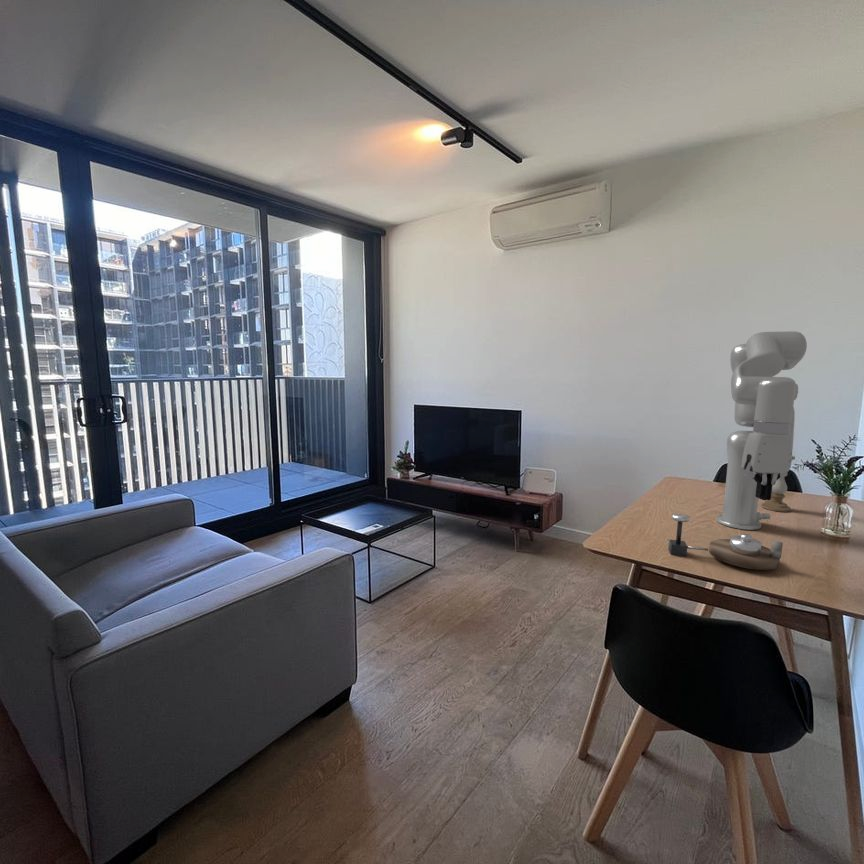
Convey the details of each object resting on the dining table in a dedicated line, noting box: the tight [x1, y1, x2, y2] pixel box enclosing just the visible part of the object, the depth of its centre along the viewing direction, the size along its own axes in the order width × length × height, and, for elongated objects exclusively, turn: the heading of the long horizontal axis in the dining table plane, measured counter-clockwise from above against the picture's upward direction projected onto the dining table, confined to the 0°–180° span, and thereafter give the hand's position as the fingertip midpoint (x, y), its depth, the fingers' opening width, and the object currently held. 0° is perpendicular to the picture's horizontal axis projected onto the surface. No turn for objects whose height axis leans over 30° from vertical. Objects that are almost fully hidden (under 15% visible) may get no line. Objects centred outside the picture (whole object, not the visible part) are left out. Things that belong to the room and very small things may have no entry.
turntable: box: [708, 538, 784, 571], centre depth 127 cm, size 16×16×6 cm
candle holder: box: [761, 455, 796, 513], centre depth 171 cm, size 9×9×20 cm
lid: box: [729, 533, 762, 557], centre depth 126 cm, size 7×7×4 cm
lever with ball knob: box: [667, 512, 709, 558], centre depth 130 cm, size 10×4×11 cm, turn 72°
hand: (762, 498), depth 119 cm, fingers closed
